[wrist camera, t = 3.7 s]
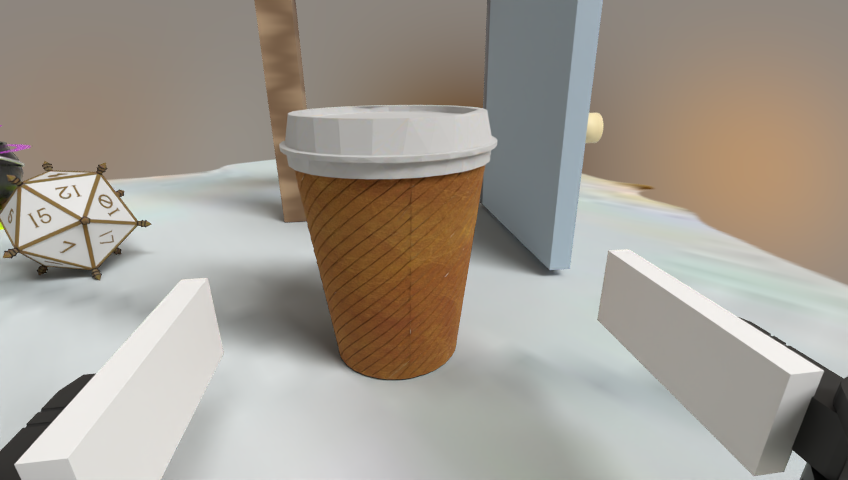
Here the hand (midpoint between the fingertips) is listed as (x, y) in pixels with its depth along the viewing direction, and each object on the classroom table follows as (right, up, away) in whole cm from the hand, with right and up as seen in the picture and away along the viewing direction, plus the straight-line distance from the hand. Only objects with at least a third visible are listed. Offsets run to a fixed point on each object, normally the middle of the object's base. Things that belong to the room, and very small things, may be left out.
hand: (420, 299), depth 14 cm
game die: (-26, 0, +18) cm, 32 cm away
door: (+9, +3, +25) cm, 26 cm away
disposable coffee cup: (-1, -4, +9) cm, 10 cm away
